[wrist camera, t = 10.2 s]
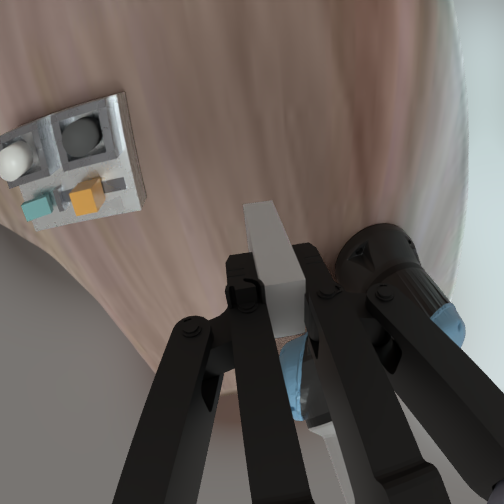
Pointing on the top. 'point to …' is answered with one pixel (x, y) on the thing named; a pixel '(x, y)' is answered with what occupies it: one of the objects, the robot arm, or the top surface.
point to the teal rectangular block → (37, 207)
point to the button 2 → (81, 136)
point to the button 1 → (15, 160)
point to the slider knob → (87, 197)
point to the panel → (81, 162)
